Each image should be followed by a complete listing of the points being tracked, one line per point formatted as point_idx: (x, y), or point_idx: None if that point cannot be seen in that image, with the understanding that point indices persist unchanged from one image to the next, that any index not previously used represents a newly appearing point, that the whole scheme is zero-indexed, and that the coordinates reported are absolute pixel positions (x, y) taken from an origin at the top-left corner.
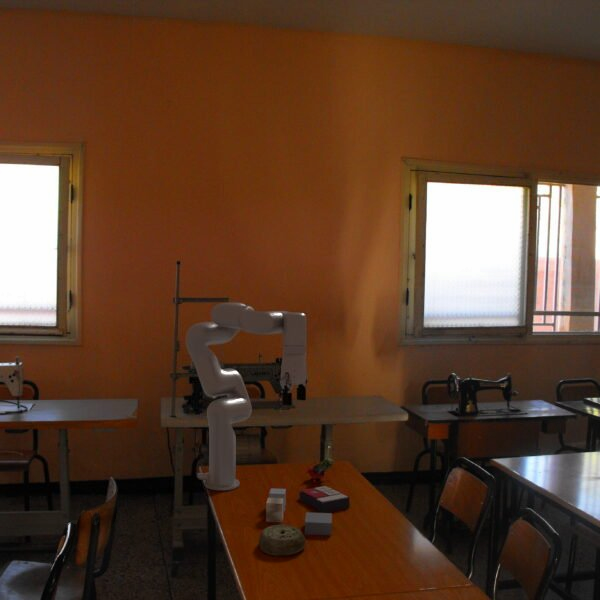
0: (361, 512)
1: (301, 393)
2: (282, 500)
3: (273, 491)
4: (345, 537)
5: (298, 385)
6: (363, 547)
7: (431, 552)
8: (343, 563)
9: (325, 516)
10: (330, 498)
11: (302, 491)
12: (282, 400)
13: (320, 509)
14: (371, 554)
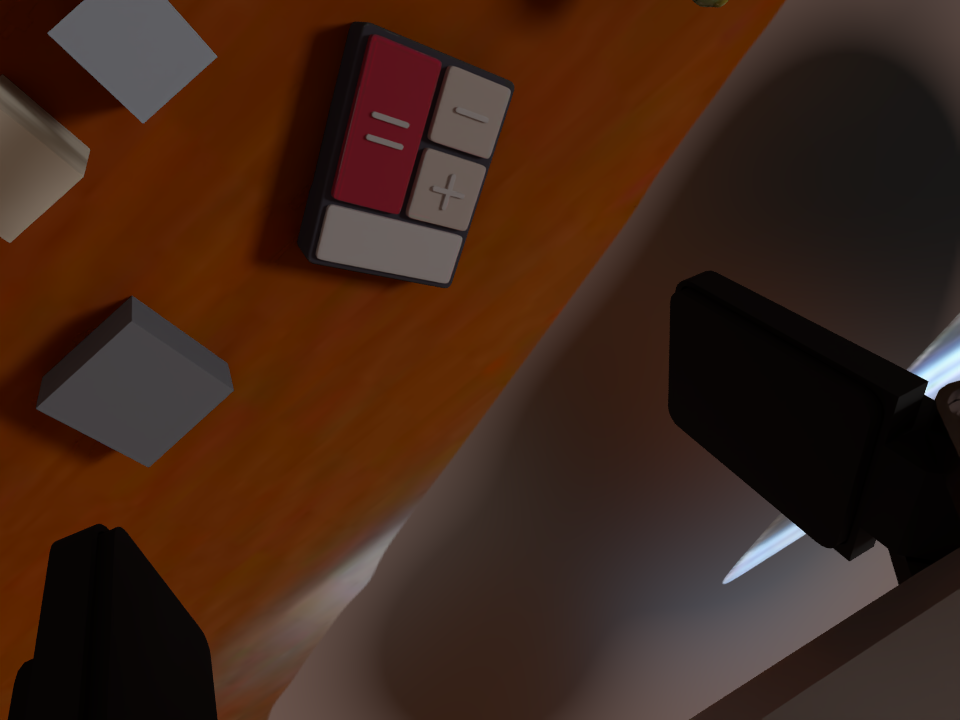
0: (423, 334)
1: (760, 435)
2: (49, 201)
3: (104, 25)
4: (183, 471)
5: (948, 485)
6: (174, 551)
7: (317, 628)
8: (6, 617)
9: (180, 403)
10: (376, 251)
11: (367, 52)
12: (41, 615)
13: (301, 237)
14: None
